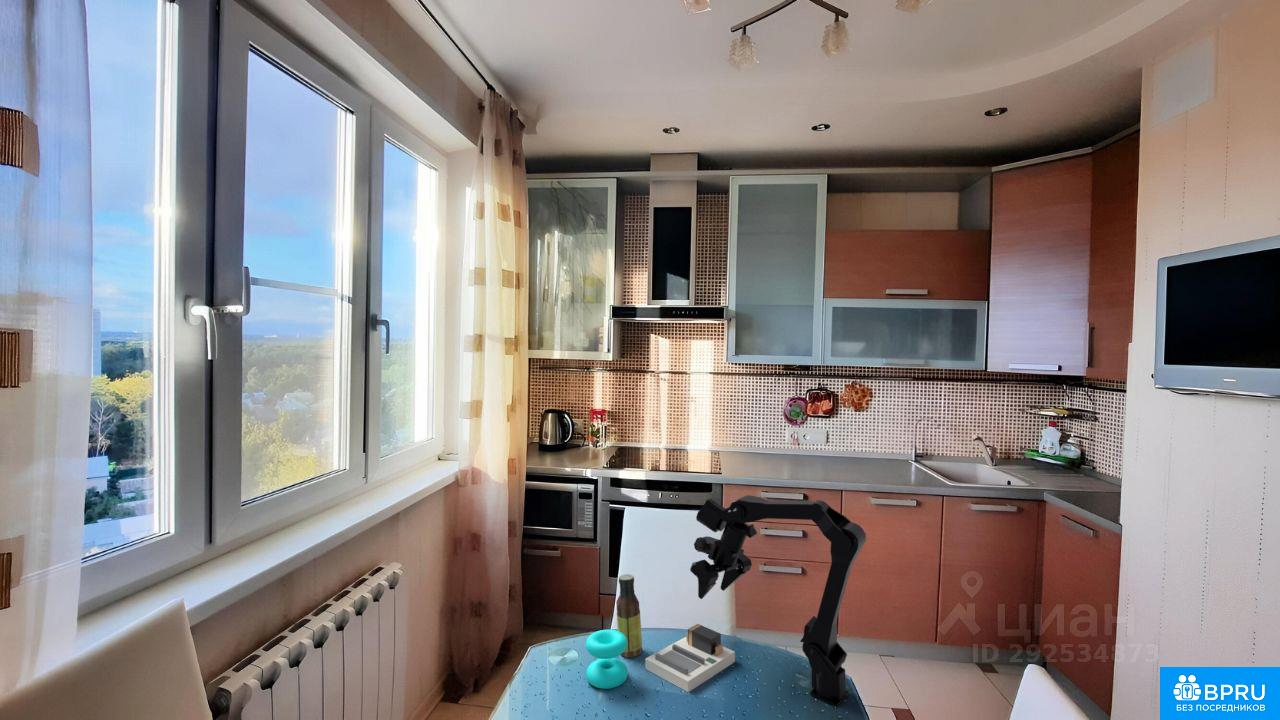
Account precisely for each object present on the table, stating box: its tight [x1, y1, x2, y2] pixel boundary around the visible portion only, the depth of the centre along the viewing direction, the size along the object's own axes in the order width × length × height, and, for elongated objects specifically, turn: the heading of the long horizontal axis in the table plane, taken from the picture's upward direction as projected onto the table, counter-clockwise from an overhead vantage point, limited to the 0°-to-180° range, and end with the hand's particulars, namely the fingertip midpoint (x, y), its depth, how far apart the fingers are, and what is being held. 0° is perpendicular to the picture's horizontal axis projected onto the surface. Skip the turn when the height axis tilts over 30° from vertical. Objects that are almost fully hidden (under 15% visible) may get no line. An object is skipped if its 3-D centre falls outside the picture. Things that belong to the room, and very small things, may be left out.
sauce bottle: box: [615, 573, 643, 658], centre depth 141 cm, size 7×6×20 cm
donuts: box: [585, 629, 629, 690], centre depth 129 cm, size 10×10×10 cm
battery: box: [687, 623, 722, 655], centre depth 138 cm, size 8×4×4 cm, turn 44°
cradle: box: [644, 633, 736, 693], centre depth 134 cm, size 14×18×4 cm
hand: (711, 593), depth 139 cm, fingers open, 9 cm apart
